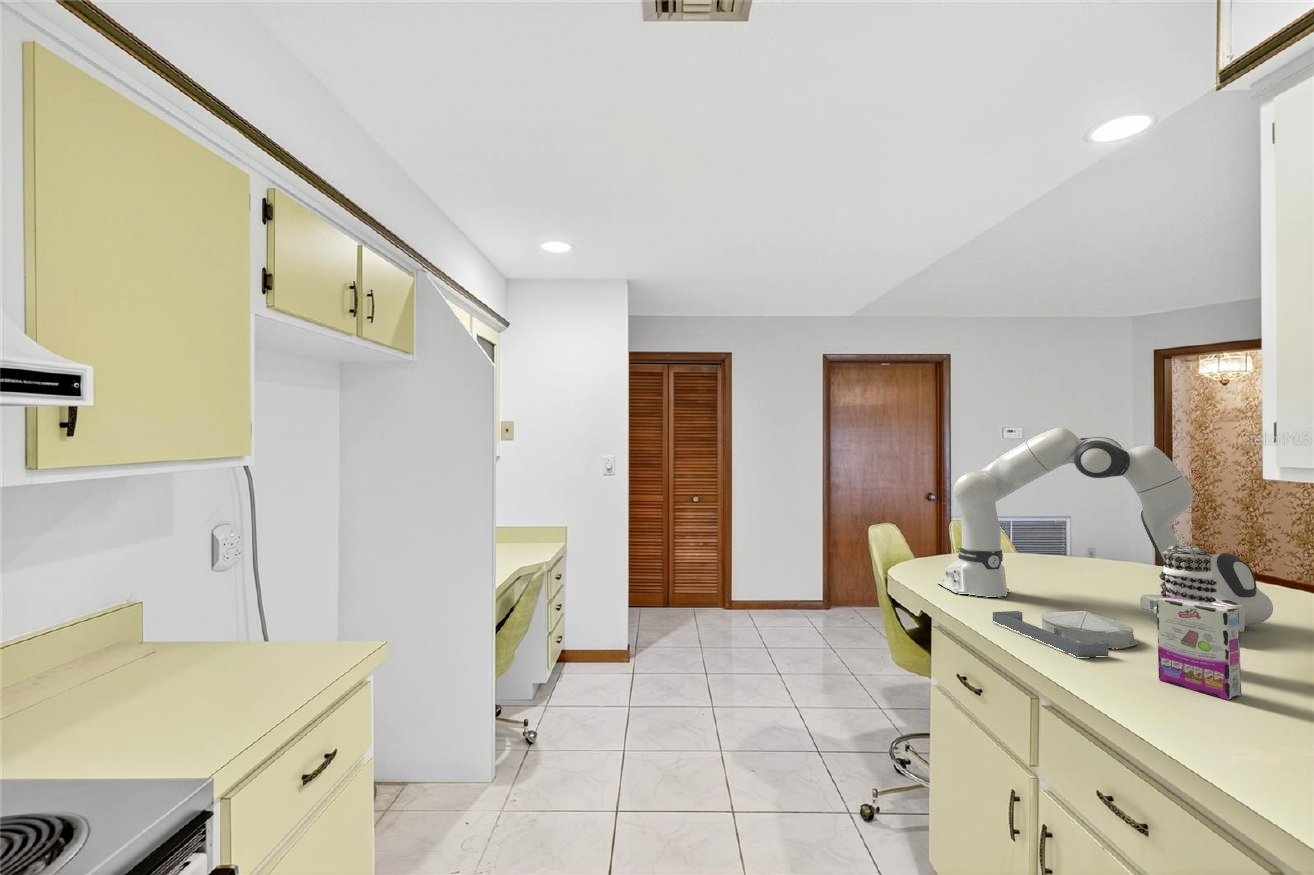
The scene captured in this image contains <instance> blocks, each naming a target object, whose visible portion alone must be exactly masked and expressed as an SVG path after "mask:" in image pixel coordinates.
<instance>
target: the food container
mask: <svg viewBox="0 0 1314 875" xmlns="http://www.w3.org/2000/svg"><path fill="white" fill-rule="evenodd" d="M1040 617H1041V626H1042V629H1044V630H1047V631H1049V632H1052V633H1054V634H1057V635H1060V636H1062V637H1065V638H1067V639H1070V640H1073V641H1075V642H1078V643H1083V642H1100V641H1103V642H1105V643H1108V648H1118V649H1127V648H1130V647H1133V646H1134V647H1135V646H1137V645H1138V644H1139V641H1137V638H1135V634H1134V631H1135V630H1134V628H1133V627H1131V626H1129V625H1127V624H1125V623H1122V622H1120V621H1117V620H1115V619H1111V618H1109V617H1105V616H1103V615H1100V614H1097V613H1095V612H1091V611H1087V610H1079V611H1077V610H1076V611H1074V610H1073V611H1059V612H1058V611H1054V612H1053V611H1049V612H1045V613H1042V614H1041V615H1040Z"/></svg>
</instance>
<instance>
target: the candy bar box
mask: <svg viewBox="0 0 1314 875" xmlns="http://www.w3.org/2000/svg"><path fill="white" fill-rule="evenodd" d="M1156 618H1157V619H1156V622H1157V623H1156V624H1157V625H1156V626H1157V628H1156V629H1157V655H1158V656H1157V658H1158V659H1157V660H1158V661H1157V662H1158V664H1157V665H1158V666H1157V667H1158V668H1157V669H1158V680H1159V681H1161V680H1163V681H1162V682H1164V681H1165V682H1164V683H1167V682H1169V683H1168V684H1171V685H1174V686H1178V685H1179V686H1178V687H1181V686H1182V687H1181V688H1184V687H1185V689H1188V690H1192V691H1196V692H1199V693H1201V694H1206V695H1208V696H1213V697H1216V698H1220V699H1222V700H1223V699H1224V700H1226V701H1231V700H1234V699H1236V698H1240V697H1241V696H1242V679H1241V677H1242V676H1241V652H1240V650H1241V649H1240V647H1241V646H1240V632H1239V613H1238V609H1237V608H1231V607H1226V606H1220V605H1215V604H1209V603H1203V602H1197V601H1192V600H1186V599H1180V598H1174V597H1164V598H1159V599H1157V614H1156Z"/></svg>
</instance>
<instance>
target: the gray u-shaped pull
mask: <svg viewBox="0 0 1314 875" xmlns="http://www.w3.org/2000/svg"><path fill="white" fill-rule="evenodd" d="M993 621H995V622H997V623H999V624H1001V625H1005V626H1007V627H1009V628H1011V629H1013V630H1016V631H1019V632H1020V633H1022V634H1025V635H1028V636H1031V637H1032V638H1034V639H1038V640H1040V641H1042V642H1044V643H1046V644H1050V645H1052V646H1054V647H1056V648H1059V649H1061V650H1063V651H1065V652H1067V653H1071V654H1073V655H1075V656H1076V657H1096V656H1110V655H1109V649H1108V643H1105V642H1103V641H1100V642H1083V643H1078V642H1075V641H1073V640H1070V639H1067V638H1065V637H1062V636H1060V635H1057V634H1054V633H1052V632H1049V631H1047V630H1044V629H1041V628H1039V627H1040V626H1039V627H1038V626H1037V625H1033V624H1031V623H1028V622H1025V621H1024V620H1023V612H1022V611H1019V610H1007V611H993V612H992V622H993Z"/></svg>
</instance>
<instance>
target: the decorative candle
mask: <svg viewBox="0 0 1314 875" xmlns="http://www.w3.org/2000/svg"><path fill="white" fill-rule="evenodd" d="M1162 553H1164V563H1165V564H1164V566H1162V568H1163V570H1161V571H1160V572H1161V573H1160V574H1159V579H1160V580H1161V581H1162V582H1161V583H1160V585H1159V586H1160V587H1161V589H1162V590H1161V591H1160V595H1162V596H1164V597H1174V598H1180V599H1186V600H1192V601H1197V602H1203V603H1209V604H1211V602H1215V601H1216V599H1215V598H1213V597H1211V593H1212V592H1213V593H1214V592H1216V591H1217V590H1216V589H1215V588H1212V587H1211V586H1213V585H1215V584H1217V583H1216V582H1215V581H1214V580H1213V579H1212V580H1211V579H1210V578H1212V570H1211V557H1212V556H1210V555H1211V554H1210V555H1209V553H1208V552H1207V551H1206V550H1205V549H1204V548H1203V547H1202V548H1201V547H1199V546H1198V547H1197V546H1191V545H1180V546H1170V547H1169V548H1168V549H1167V550H1166V551H1165V552H1162ZM1210 585H1211V586H1210Z"/></svg>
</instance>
